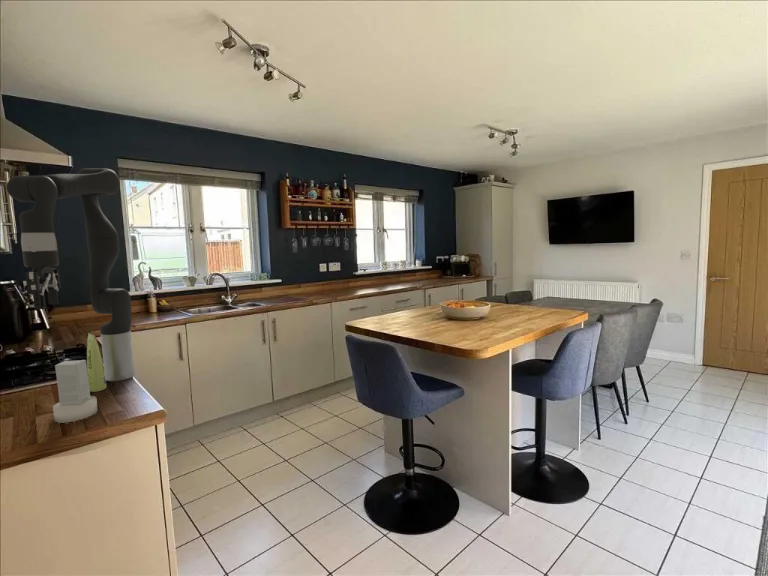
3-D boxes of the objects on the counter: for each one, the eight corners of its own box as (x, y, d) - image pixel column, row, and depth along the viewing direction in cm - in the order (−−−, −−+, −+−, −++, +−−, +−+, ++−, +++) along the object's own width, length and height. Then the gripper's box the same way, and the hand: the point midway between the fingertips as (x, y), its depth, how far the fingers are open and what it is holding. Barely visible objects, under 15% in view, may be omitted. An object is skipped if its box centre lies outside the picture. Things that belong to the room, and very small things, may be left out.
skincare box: (91, 398, 118) (86, 359, 117) (82, 404, 114) (77, 364, 112) (69, 399, 118) (64, 360, 116) (59, 405, 113) (54, 365, 112)
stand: (63, 411, 119) (61, 398, 119) (102, 406, 122) (101, 393, 122) (48, 426, 110) (46, 412, 109) (91, 420, 113) (89, 406, 113)
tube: (83, 392, 134) (77, 335, 131) (94, 386, 139) (88, 332, 136) (100, 392, 134) (94, 335, 131) (110, 386, 139) (104, 331, 136)
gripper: (35, 249, 116) (42, 303, 119) (9, 250, 103) (17, 312, 105) (66, 248, 119) (72, 302, 121) (44, 249, 106) (52, 309, 108)
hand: (47, 306), depth 113 cm, fingers open, 8 cm apart
